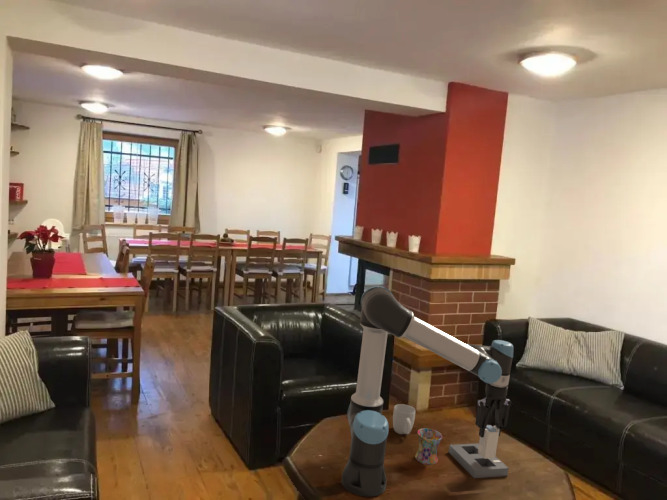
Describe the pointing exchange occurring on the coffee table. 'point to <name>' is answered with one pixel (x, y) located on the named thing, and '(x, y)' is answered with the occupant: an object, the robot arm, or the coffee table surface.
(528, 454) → the coffee table surface
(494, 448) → the plug
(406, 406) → the mug
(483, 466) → the panel
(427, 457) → the mug
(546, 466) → the coffee table surface
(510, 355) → the robot arm
